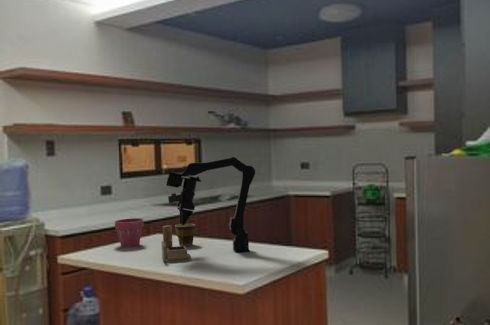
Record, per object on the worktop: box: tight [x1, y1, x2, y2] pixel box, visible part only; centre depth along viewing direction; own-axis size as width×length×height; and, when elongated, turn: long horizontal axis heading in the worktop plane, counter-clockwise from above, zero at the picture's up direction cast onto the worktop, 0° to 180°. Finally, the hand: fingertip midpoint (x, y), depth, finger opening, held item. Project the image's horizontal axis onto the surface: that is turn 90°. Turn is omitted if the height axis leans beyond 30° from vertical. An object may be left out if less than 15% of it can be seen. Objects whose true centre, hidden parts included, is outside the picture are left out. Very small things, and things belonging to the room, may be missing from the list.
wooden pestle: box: [162, 225, 173, 255], centre depth 217 cm, size 4×4×13 cm
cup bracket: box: [161, 240, 193, 264], centre depth 208 cm, size 12×12×7 cm
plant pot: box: [114, 217, 145, 248], centre depth 243 cm, size 14×14×13 cm
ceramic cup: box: [173, 223, 196, 247], centre depth 238 cm, size 13×10×10 cm
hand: (181, 224), depth 216 cm, fingers open, 9 cm apart
